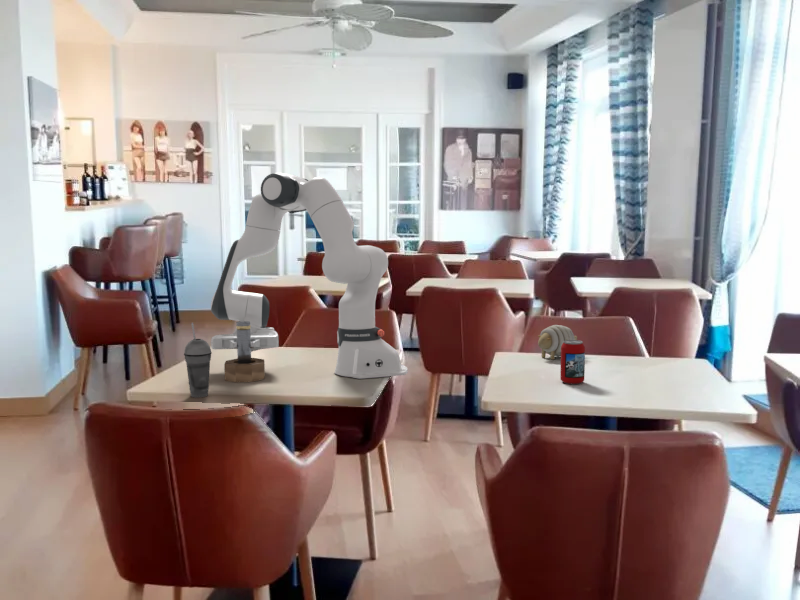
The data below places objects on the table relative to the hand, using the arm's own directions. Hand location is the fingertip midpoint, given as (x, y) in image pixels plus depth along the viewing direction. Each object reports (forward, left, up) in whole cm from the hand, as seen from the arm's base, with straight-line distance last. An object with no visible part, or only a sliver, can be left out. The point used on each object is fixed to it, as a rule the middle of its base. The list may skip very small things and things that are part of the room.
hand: (243, 345), depth 226 cm
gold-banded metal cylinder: (0, -1, -9) cm, 9 cm away
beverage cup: (+11, +19, -10) cm, 24 cm away
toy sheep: (-103, -16, -10) cm, 105 cm away
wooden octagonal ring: (0, -1, -10) cm, 10 cm away
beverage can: (-94, +21, -10) cm, 97 cm away
